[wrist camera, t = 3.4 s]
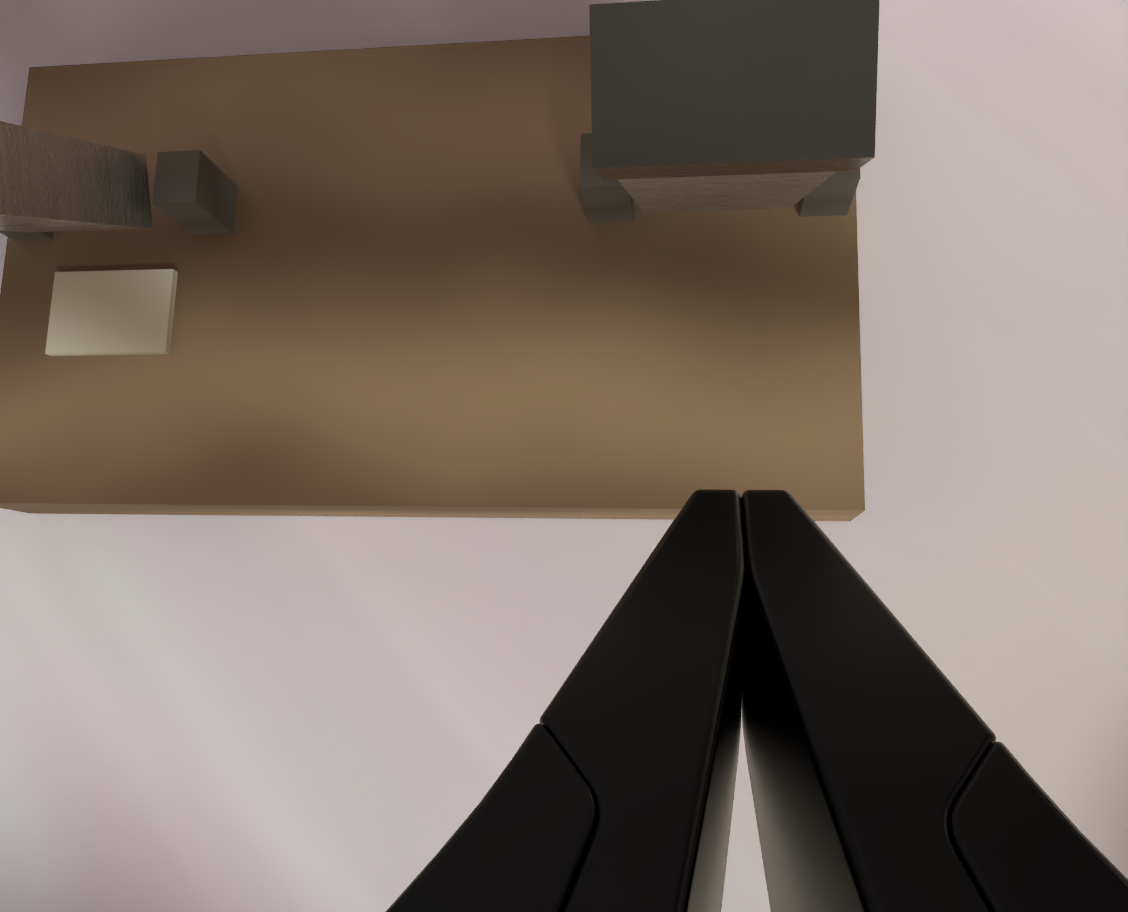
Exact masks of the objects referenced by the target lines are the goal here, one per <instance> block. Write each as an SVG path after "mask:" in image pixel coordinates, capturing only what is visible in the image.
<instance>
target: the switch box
mask: <svg viewBox="0 0 1128 912" xmlns="http://www.w3.org/2000/svg"><path fill="white" fill-rule="evenodd" d="M22 126H23V127H27V128H31V129H36V130H40V131H45V132H49V133H53V134H58V135H62V136H67V137H71V138H75V139H80V140H84V141H88V142H93V143H97V144H102V145H106V146H110V147H115V148H119V149H124V150H128V151H132V152H137V153H141V154H145V155H146V158H147V169H148V180H149V191H150V202H151V213H152V224H153V229H126V230H95V231H64V232H33V233H29V232H15V231H1V230H0V233H2V234H4V235H5V236H7V237H8V239H7V247H6V255H5V263H4V271H3V278H2V286H1V294H0V508H4V509H10V510H15V511H21V512H26V513H61V514H167V515H273V516H379V517H485V518H590V519H675V518H676V516H677V515H678V513H679V512H680V511H681V509H682V508H683V506H684V505H685V503H686V502H687V500H688V499H689V497H690V496H691V495H692V493H693V492H694V491H696V490H700V489H727V490H735V491H737V492H738V493H739V494H740V497H741V496H742V494H743V492H745V491H746V490H785V491H787V492H789V493H790V494H791V495H792V496H793V497H794V498H795V500H796V501H797V502H798V503H799V504H800V505H801V507H802V508H803V509H804V510H805V511H806V512H807V514H808V515H809V516H810V517H811V518H812V520H813V521H851V520H852V519H854V518H855V517H856V516H858V515H859V514H860V513H862V512H863V511H864V510H865V499H864V464H863V428H862V393H861V357H860V322H859V287H858V251H857V216H856V188H857V185H858V183H859V180H860V168H858V169H857V170H856V171H837V172H835V173H834V174H833V175H831V176H830V177H829V178H828V179H826V180H825V181H824V182H823V183H821V184H820V185H819V186H818V187H816V188H815V189H814V190H813V191H811V192H810V193H809V194H808V195H806V196H805V197H804V198H803V199H801V200H800V201H799V202H797V203H796V204H795V205H794V206H792V207H791V208H775V209H744V210H713V211H682V212H651V213H644V212H643V211H642V209H641V208H640V207H639V206H638V204H637V203H636V202H635V201H634V200H633V198H632V197H631V196H630V195H629V193H628V192H627V191H626V190H625V188H624V187H623V186H622V185H621V183H620V182H619V181H618V180H617V179H615V180H603V179H602V178H601V177H600V176H599V175H598V174H597V172H596V171H595V170H594V169H593V168H592V119H591V60H590V36H577V37H560V38H542V39H524V40H507V41H489V42H471V43H453V44H436V45H418V46H400V47H383V48H365V49H347V50H330V51H312V52H294V53H276V54H259V55H241V56H223V57H206V58H188V59H170V60H153V61H135V62H117V63H100V64H82V65H64V66H46V67H30V68H29V76H28V84H27V91H26V99H25V107H24V115H23V123H22Z"/></svg>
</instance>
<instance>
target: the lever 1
mask: <svg viewBox="0 0 1128 912" xmlns="http://www.w3.org/2000/svg"><path fill="white" fill-rule="evenodd" d="M126 229H153V224H152V213H151V202H150V191H149V180H148V169H147V158H146V155H145V154H141V153H137V152H132V151H128V150H124V149H119V148H115V147H110V146H106V145H102V144H97V143H93V142H88V141H84V140H80V139H75V138H71V137H67V136H62V135H58V134H53V133H49V132H45V131H40V130H36V129H31V128H27V127H23V126H18V125H14V124H10V123H5V122H1V121H0V230H1V231H15V232H29V233H33V232H64V231H95V230H126Z"/></svg>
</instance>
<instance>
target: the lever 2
mask: <svg viewBox="0 0 1128 912" xmlns="http://www.w3.org/2000/svg"><path fill="white" fill-rule="evenodd" d="M878 25H879V0H660V1H643V2H627V3H610V4H594V5H590V60H591V119H592V168H593V169H594V170H595V171H596V172H597V174H598V175H599V176H600V177H601V178H602V179H603V180H615V179H617V180H618V181H619V182H620V183H621V185H622V186H623V187H624V188H625V190H626V191H627V192H628V193H629V195H630V196H631V197H632V198H633V200H634V201H635V202H636V203H637V204H638V206H639V207H640V208H641V209H642V211H643V212H644V213H651V212H682V211H713V210H744V209H775V208H791V207H792V206H794V205H795V204H796V203H797V202H799V201H800V200H801V199H803V198H804V197H805V196H806V195H808V194H809V193H810V192H811V191H813V190H814V189H815V188H816V187H818V186H819V185H820V184H821V183H823V182H824V181H825V180H826V179H828V178H829V177H830V176H831V175H833V174H834V173H835V172H837V171H856V170H857V169H858V168H860V167H861V166H863V165H864V164H866V163H867V162H868V161H870V160H871V159H873V158H874V157H875V125H876V91H877V58H878Z"/></svg>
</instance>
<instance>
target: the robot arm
mask: <svg viewBox="0 0 1128 912" xmlns="http://www.w3.org/2000/svg"><path fill="white" fill-rule="evenodd" d="M741 705H742V722H743V733H744V741H745V749H746V756H747V762H748V769H749V775H750V781H751V788H752V794H753V801H754V807H755V813H756V820H757V826H758V832H759V839H760V845H761V851H762V858H763V864H764V870H765V877H766V883H767V889H768V896H769V902H770V909H771V912H1128V879H1127V878H1126V877H1125V876H1124V875H1123V874H1122V873H1121V872H1120V871H1119V870H1118V869H1117V868H1116V867H1115V866H1114V865H1113V864H1112V863H1111V862H1110V861H1109V860H1108V859H1107V858H1106V857H1105V856H1104V855H1103V854H1102V853H1101V852H1100V851H1099V850H1098V849H1097V848H1096V847H1095V846H1094V845H1093V844H1092V843H1091V842H1090V841H1089V840H1088V839H1087V838H1086V837H1085V836H1084V835H1083V834H1082V833H1081V832H1080V831H1079V830H1078V828H1077V827H1076V826H1075V825H1074V824H1073V823H1072V822H1071V821H1070V820H1069V818H1068V817H1067V816H1066V815H1065V814H1064V813H1063V812H1062V811H1061V810H1060V808H1059V807H1058V806H1057V805H1056V804H1055V803H1054V802H1053V801H1052V800H1051V798H1050V797H1049V796H1048V795H1047V794H1046V793H1045V792H1044V791H1043V789H1042V788H1041V787H1040V786H1039V785H1038V784H1037V783H1036V782H1035V781H1034V779H1033V778H1032V777H1031V776H1030V775H1029V774H1028V773H1027V771H1026V770H1025V769H1024V768H1023V767H1022V766H1021V764H1020V763H1019V762H1018V761H1017V760H1016V758H1015V757H1014V756H1013V755H1012V754H1011V752H1010V751H1009V750H1008V749H1007V748H1006V746H1005V745H1004V744H1003V743H1001V742H995V741H996V736H995V734H994V733H993V732H992V731H991V729H990V728H989V727H988V726H987V725H986V723H985V722H984V721H983V720H982V719H981V718H980V716H979V715H978V714H977V713H976V712H975V711H974V709H973V708H972V707H971V706H970V705H969V703H968V702H967V701H966V700H965V699H964V698H963V696H962V695H961V694H960V693H959V692H958V690H957V689H956V688H955V687H954V686H953V685H952V683H951V682H950V681H949V680H948V679H947V678H946V676H945V675H944V674H943V673H942V672H941V670H940V669H939V668H938V667H937V666H936V665H935V663H934V662H933V661H932V660H931V659H930V657H929V656H928V655H927V654H926V653H925V652H924V650H923V649H922V648H921V647H920V646H919V645H918V643H917V642H916V641H915V640H914V639H913V637H912V636H911V635H910V634H909V633H908V632H907V630H906V629H905V628H904V627H903V626H902V624H901V623H900V622H899V621H898V620H897V619H896V617H895V616H894V615H893V614H892V613H891V612H890V610H889V609H888V608H887V607H886V606H885V604H884V603H883V602H882V601H881V600H880V599H879V597H878V596H877V595H876V594H875V593H874V591H873V590H872V589H871V588H870V587H869V586H868V584H867V583H866V582H865V581H864V580H863V578H862V577H861V576H860V575H859V574H858V573H857V571H856V570H855V569H854V568H853V567H852V566H851V564H850V563H849V562H848V561H847V560H846V558H845V557H844V556H843V555H842V554H841V553H840V551H839V550H838V549H837V548H836V547H835V545H834V544H833V543H832V542H831V541H830V540H829V538H828V537H827V536H826V535H825V534H824V533H823V531H822V530H821V529H820V528H819V527H818V525H817V524H816V523H815V522H814V521H813V520H812V518H811V517H810V516H809V515H808V514H807V512H806V511H805V510H804V509H803V508H802V507H801V505H800V504H799V503H798V502H797V501H796V500H795V498H794V497H793V496H792V495H791V494H790V493H789V492H787V491H785V490H746V491H745V492H743V494H742V496H741V497H740V494H739V493H738V492H737V491H735V490H727V489H700V490H696V491H694V492H693V493H692V495H691V496H690V497H689V499H688V500H687V502H686V503H685V505H684V506H683V508H682V509H681V511H680V512H679V513H678V515H677V516H676V518H675V519H674V521H673V522H672V524H671V525H670V527H669V528H668V530H667V531H666V533H665V534H664V536H663V537H662V539H661V540H660V542H659V543H658V545H657V546H656V548H655V549H654V550H653V552H652V553H651V555H650V556H649V558H648V559H647V561H646V562H645V564H644V565H643V567H642V568H641V570H640V571H639V573H638V574H637V576H636V577H635V579H634V580H633V582H632V583H631V584H630V586H629V587H628V589H627V590H626V592H625V593H624V595H623V596H622V598H621V599H620V601H619V602H618V604H617V605H616V607H615V608H614V610H613V611H612V613H611V614H610V616H609V617H608V618H607V620H606V621H605V623H604V624H603V626H602V627H601V629H600V630H599V632H598V633H597V635H596V636H595V638H594V639H593V641H592V642H591V644H590V645H589V647H588V648H587V650H586V651H585V653H584V654H583V655H582V657H581V658H580V660H579V661H578V663H577V664H576V666H575V667H574V669H573V670H572V672H571V673H570V675H569V676H568V678H567V679H566V681H565V682H564V684H563V685H562V687H561V688H560V689H559V691H558V692H557V694H556V695H555V697H554V698H553V700H552V701H551V703H550V704H549V706H548V707H547V709H546V710H545V712H544V713H543V715H542V716H541V718H540V724H536V725H535V726H534V727H533V729H532V730H531V732H530V733H529V735H528V736H527V738H526V739H525V741H524V742H523V744H522V745H521V746H520V748H519V749H518V751H517V752H516V754H515V755H514V757H513V758H512V760H511V761H510V762H509V764H508V765H507V766H506V768H505V769H504V771H503V772H502V773H501V775H500V776H499V777H498V779H497V780H496V781H495V783H494V784H493V786H492V787H491V788H490V790H489V791H488V792H487V794H486V795H485V797H484V798H483V799H482V801H481V802H480V803H479V805H478V806H477V807H476V808H475V809H474V811H473V812H472V813H471V814H470V815H469V816H468V818H467V819H466V820H465V821H464V822H463V824H462V825H461V826H460V827H459V828H458V830H457V831H456V832H455V833H454V834H453V836H452V837H451V838H450V839H449V840H448V841H447V843H446V844H445V845H444V846H443V847H442V849H441V850H440V851H439V852H438V853H437V855H436V856H435V857H434V858H433V859H432V860H431V861H430V862H429V864H428V865H427V866H426V867H425V868H424V869H423V870H422V871H421V873H420V874H419V875H418V876H417V877H416V878H415V879H414V880H413V882H412V883H411V884H410V885H409V886H408V887H407V888H406V889H405V891H404V892H403V893H402V894H401V895H400V896H399V897H398V898H397V900H396V901H395V902H394V903H393V904H392V905H391V906H390V908H389V909H388V910H387V911H386V912H721V907H722V898H723V889H724V880H725V871H726V862H727V853H728V844H729V835H730V826H731V817H732V808H733V799H734V790H735V781H736V772H737V763H738V754H739V742H740V729H741Z"/></svg>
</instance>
